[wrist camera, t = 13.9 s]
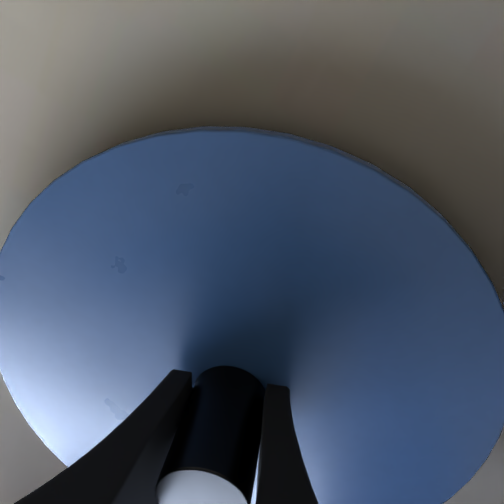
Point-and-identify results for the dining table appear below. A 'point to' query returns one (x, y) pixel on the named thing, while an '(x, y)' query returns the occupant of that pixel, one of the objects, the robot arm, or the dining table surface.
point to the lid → (255, 316)
